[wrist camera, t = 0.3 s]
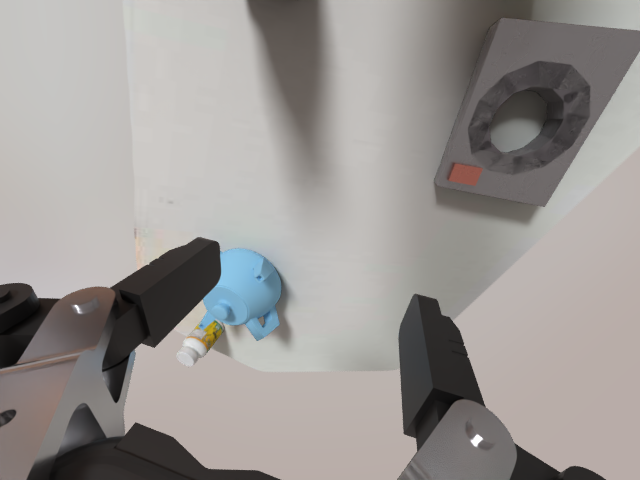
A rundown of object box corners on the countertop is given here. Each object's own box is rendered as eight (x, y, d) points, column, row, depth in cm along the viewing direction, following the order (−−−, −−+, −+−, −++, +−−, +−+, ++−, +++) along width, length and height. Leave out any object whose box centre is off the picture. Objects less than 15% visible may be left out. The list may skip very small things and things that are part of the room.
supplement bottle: (203, 312, 56) (171, 346, 48) (224, 319, 56) (196, 355, 47) (204, 328, 59) (174, 363, 50) (224, 335, 58) (197, 372, 50)
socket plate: (489, 27, 25) (505, 14, 22) (621, 41, 24) (660, 28, 20) (433, 180, 33) (439, 187, 29) (531, 199, 31) (548, 209, 28)
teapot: (221, 299, 53) (186, 338, 44) (208, 237, 46) (163, 267, 37) (288, 312, 50) (266, 357, 41) (285, 247, 43) (257, 283, 34)
